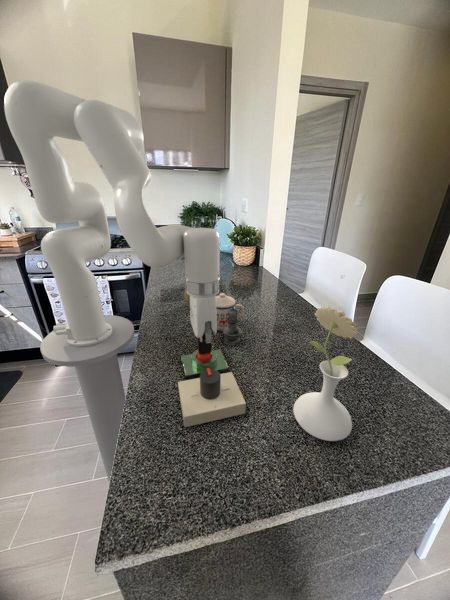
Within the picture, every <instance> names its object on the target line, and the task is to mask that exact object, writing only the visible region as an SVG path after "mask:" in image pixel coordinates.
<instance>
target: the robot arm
mask: <svg viewBox="0 0 450 600" xmlns="http://www.w3.org/2000/svg"><path fill="white" fill-rule="evenodd" d="M3 103H4V105H3V108H4V115H5V121H6V122H7V125H8V126H7V127H8V128H9V130H10V133H11V136H12V138H13V139H14V142H15V144H16V146H17V148H18V150H19V152H20V154H21V156H22V160H23V162H24V166H25V169H26V175H27V177H28V181H29V184H30V188H31V191H32V195H33V199H34V202H35V204H36V208H37V210H38V212H39V215H40V216H41V218H42V219H43V220H45V221H46V222H48V223H51V224H69V223H75V222H77V223H78V226H72V227H71V226H70V227H65V228H59V229H56V230H53V231H49V232H48V233H46V234H45V235H44V236H43V237H42V239H41V242H40V249H41V252H42V255H43V257H44V259H45V261H46V262H47V264H48V266H49V269H50V270H51V273H52V275H53V279H54V281H55V284H56V287H57V291H58V294H59V297H60V300H61V304H62V308H63V310H64V314H65V318H66V323H65V324H66V325H64V324H58V325H53V330H52V331H54V332H56V335H62V334H65V335H66V341H67V343H68V344H69V345H71V346H75V347H85V346H91V345H95V344H98V343H100V342H102V341H104V340H106V339H107V338H108V337H109V336H110V335H111V334H112V326H111V325H110V324H108V323H105V319H104V315H105V314H104V311H103V306H102V301H101V296H100V291H99V286H98V282H97V279H96V276H95V274H94V273H93V272H92V271H91V270H90V269H89V267H87V265H86V264H87V263H89V262H91V261H94V260H97V259H100V258H102V257H105V256H106V255H107V254H109V252H110V250H111V246H112V241H111V234H110V233H111V232H110V227H109V222H108V221H109V220H108V216H107V211H106V210H107V209H106V205H105V202H104V199H103V196H102V195H101V193H100V192H99V191H98V189H97V188H96V187H95V186H93V185H92V184H90V183H88V182H84V181H74V180H73V177H72V173H71V167H70V164H69V161H68V158H67V157H66V155H65V153H64V152H63V150H62V149H61V147H60V146H59V145H58V144H57V142H56V141H55V140H54V138H55V137H57V138H63V139H67V140H71V141H72V140H73V141H78V142H81V143H84V145H85V146H86V148H87V150H88V151H89V153H90V154H91V157H92V158H93V159H94V161H95V163H96V164H97V166H98V168H99V169H100V170H101V172H102V174H103V175H104V177H105V179H106V180H107V181H108V183H109V185H110V186H111V188H112V190H113V192H114V206H113V207H114V212H115V218H116V223H117V226H118V229H119V231H120V233H121V235H122V236H123V238H124V239H125V241H126V242H127V244H128V246H129V247H130V249H131V250H132V252H133V253H134V255H135V256H136V257H137V258H138V260H140V262H141V263H142V264H144V265H146V266H148V267H150V268H155V269H157V268H163V267H165V266H167V265H170V264H171V263H173V262H175V261H177V260H180V259H183V258H184V274H185V275H184V276H185V278H186V292H187V294H188V295H190V307H189V321H190V325H191V327H192V331H193V333H194V334H193V335H194V336H195V337H196V339H197V350H198V351H199V354H206V353H211V352H212V350H213V349H212V335H213V336H216V334H217V332H218V330H217V311H216V296H218V294H220V287H221V286H220V280H221V279H220V277H221V276H220V275H221V274H220V272H221V271H220V267H221V265H220V263H221V262H220V261H221V259H220V258H221V257H220V254H221V252H220V250H221V249H220V248H221V240H220V234H219V232H218V231H217V230H216V229H214V228H212V227H211V228H210V227H191V226H187V225H183V224H179V223H178V224H177V223H175V224H174V223H173V224H168V225H162V226H159V227H157V226H156V225H155V223H154V222H153V220H152V219H151V217H150V215H149V213H148V211H147V209H146V207H145V203H144V198H143V197H144V189H145V188H146V187H147V186H148V185H149V183H150V182H151V180H152V172H151V170H150V168H149V166H148V165H147V163H146V161H145V160H144V158H143V156H142V155H141V153H140V151H141V150H142V148H143V145H144V131H143V128H142V126H141V124H140V122H139V120H137V118H136V117H135V115H133V114H132V113H131V112H129V111H128V110H125V109H123V108H121V107H117V106H116V105H112V104H110V103H107V102H104V101H102V100H101V101H100V100H97V99H85V98H83V97H80V96H77V95H75V94H72V93H69V92H67V91H64V90H61V89H59V88H56V87H54V86H51V85H48V84H45V83H41V82H39V81H33V80H25V79H24V80H17V81H14V82H13V83H11V84H10V85H9V86H8V88H7V89H6V92H5V95H4V102H3Z"/></svg>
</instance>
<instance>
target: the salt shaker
mask: <svg viewBox="0 0 450 600" xmlns="http://www.w3.org/2000/svg"><path fill="white" fill-rule="evenodd" d="M238 314H239V313H238V309H236V307H235V308H234V306H233V307H232V308H231V309H229V310H228V318H227V321H228V325H227V327H225V328H224V329H223V331H222V333H223V335H224V338H223V343H224V344H225V345H228V346H237V345H239V344H240V343H241V338H240V336H241V335H242V333H243V329H241V327H239V326H238V324H239V323H238V322H240V321H239V317H238ZM237 317H238V318H237Z"/></svg>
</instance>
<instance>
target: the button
mask: <svg viewBox="0 0 450 600" xmlns="http://www.w3.org/2000/svg"><path fill="white" fill-rule="evenodd" d="M197 359H198V360H199V361H208V360H210V359H211V353H206V354H199V351H198V349H197Z"/></svg>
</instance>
